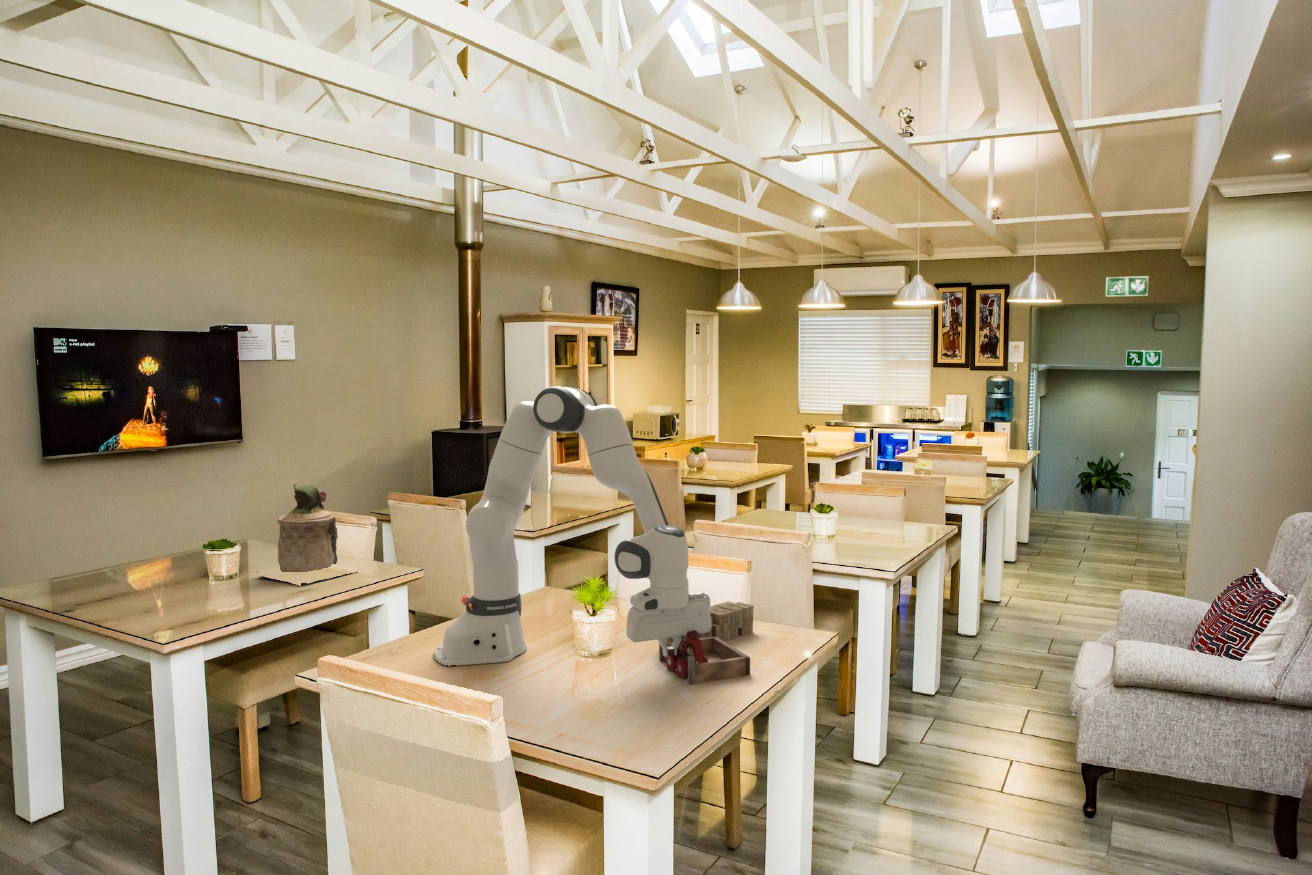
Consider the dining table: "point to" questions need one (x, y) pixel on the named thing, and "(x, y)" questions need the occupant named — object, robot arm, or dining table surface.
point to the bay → (715, 662)
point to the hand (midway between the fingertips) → (669, 655)
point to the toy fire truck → (686, 654)
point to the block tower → (729, 621)
